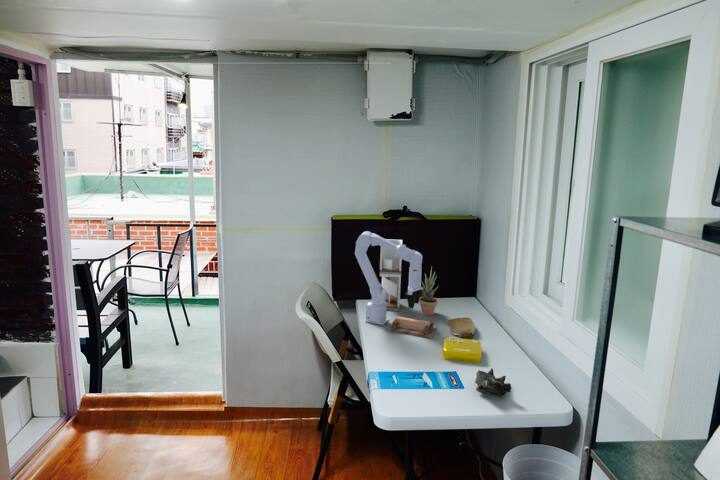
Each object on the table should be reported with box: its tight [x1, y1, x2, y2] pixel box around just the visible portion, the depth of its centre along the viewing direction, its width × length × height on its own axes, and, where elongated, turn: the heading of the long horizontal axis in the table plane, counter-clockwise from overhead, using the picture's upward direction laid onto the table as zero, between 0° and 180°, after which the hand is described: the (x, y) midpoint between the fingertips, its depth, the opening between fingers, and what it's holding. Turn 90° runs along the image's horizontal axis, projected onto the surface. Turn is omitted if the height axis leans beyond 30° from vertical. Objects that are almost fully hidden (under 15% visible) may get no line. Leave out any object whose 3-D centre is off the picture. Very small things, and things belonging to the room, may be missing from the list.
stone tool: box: [447, 316, 477, 340], centre depth 230 cm, size 12×4×25 cm
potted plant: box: [419, 266, 439, 316], centre depth 251 cm, size 10×10×25 cm
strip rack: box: [387, 315, 437, 339], centre depth 229 cm, size 20×10×4 cm, turn 66°
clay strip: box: [394, 315, 430, 331], centre depth 228 cm, size 16×2×4 cm, turn 66°
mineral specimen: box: [474, 368, 512, 397], centre depth 174 cm, size 15×13×10 cm
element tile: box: [442, 336, 482, 364], centre depth 205 cm, size 15×15×5 cm
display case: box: [379, 238, 403, 312], centre depth 258 cm, size 11×11×35 cm
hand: (413, 305), depth 235 cm, fingers open, 7 cm apart
